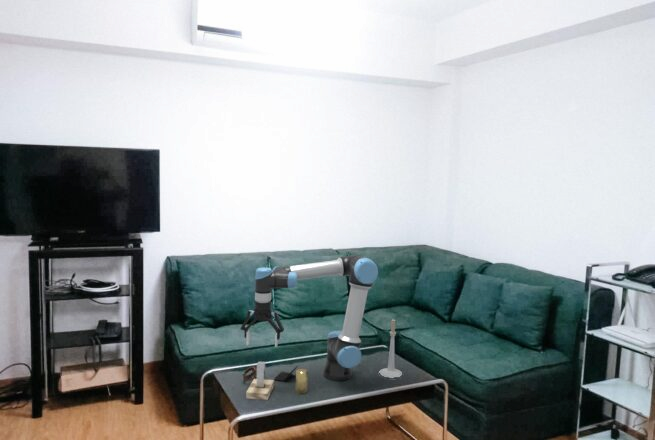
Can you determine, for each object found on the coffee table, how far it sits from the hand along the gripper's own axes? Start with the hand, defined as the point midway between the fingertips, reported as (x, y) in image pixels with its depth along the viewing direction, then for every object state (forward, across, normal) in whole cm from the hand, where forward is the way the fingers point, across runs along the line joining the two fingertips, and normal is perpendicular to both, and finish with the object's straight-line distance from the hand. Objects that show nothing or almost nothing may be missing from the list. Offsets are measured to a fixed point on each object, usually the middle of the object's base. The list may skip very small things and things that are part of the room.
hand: (262, 345), depth 237 cm
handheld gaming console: (+23, -9, -19) cm, 31 cm away
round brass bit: (+23, -19, -4) cm, 30 cm away
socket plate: (+23, 0, 0) cm, 23 cm away
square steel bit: (+22, 0, 0) cm, 23 cm away
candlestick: (+23, -63, -33) cm, 75 cm away
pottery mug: (+23, +6, -13) cm, 27 cm away
